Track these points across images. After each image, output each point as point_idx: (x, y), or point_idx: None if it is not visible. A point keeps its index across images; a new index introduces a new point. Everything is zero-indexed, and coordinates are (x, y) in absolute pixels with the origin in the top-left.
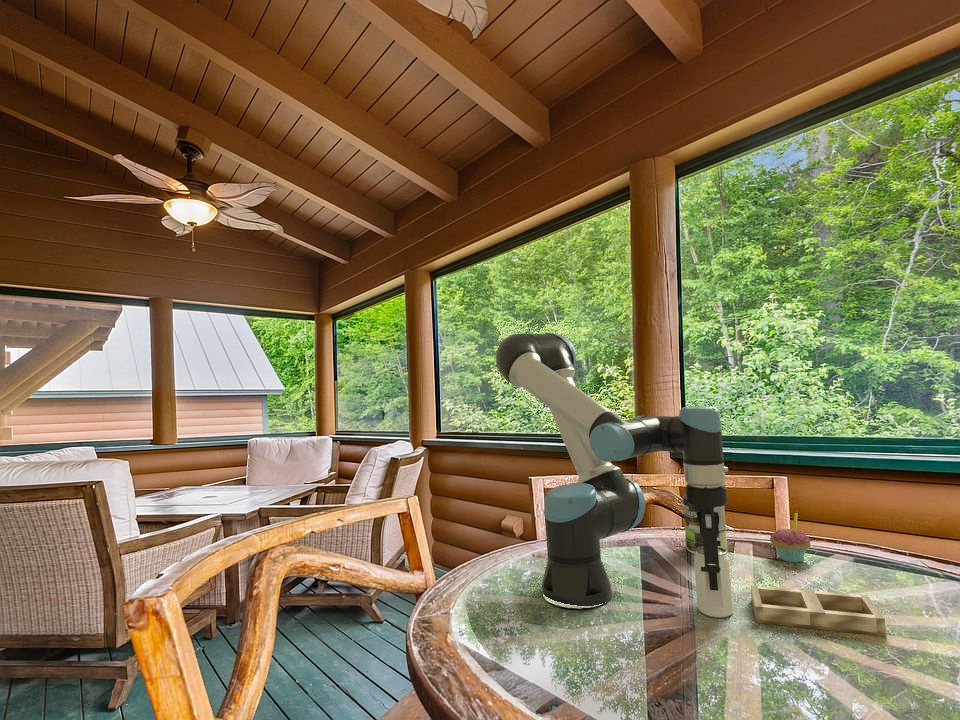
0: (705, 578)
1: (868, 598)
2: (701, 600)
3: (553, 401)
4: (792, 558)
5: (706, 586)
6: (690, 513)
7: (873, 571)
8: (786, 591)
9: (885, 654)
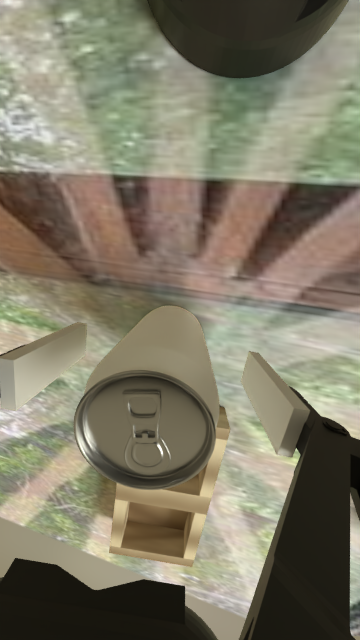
0: (24, 346)
1: (179, 563)
2: (145, 316)
3: None
4: None
5: (44, 338)
6: None
7: None
8: (203, 477)
9: (70, 502)
